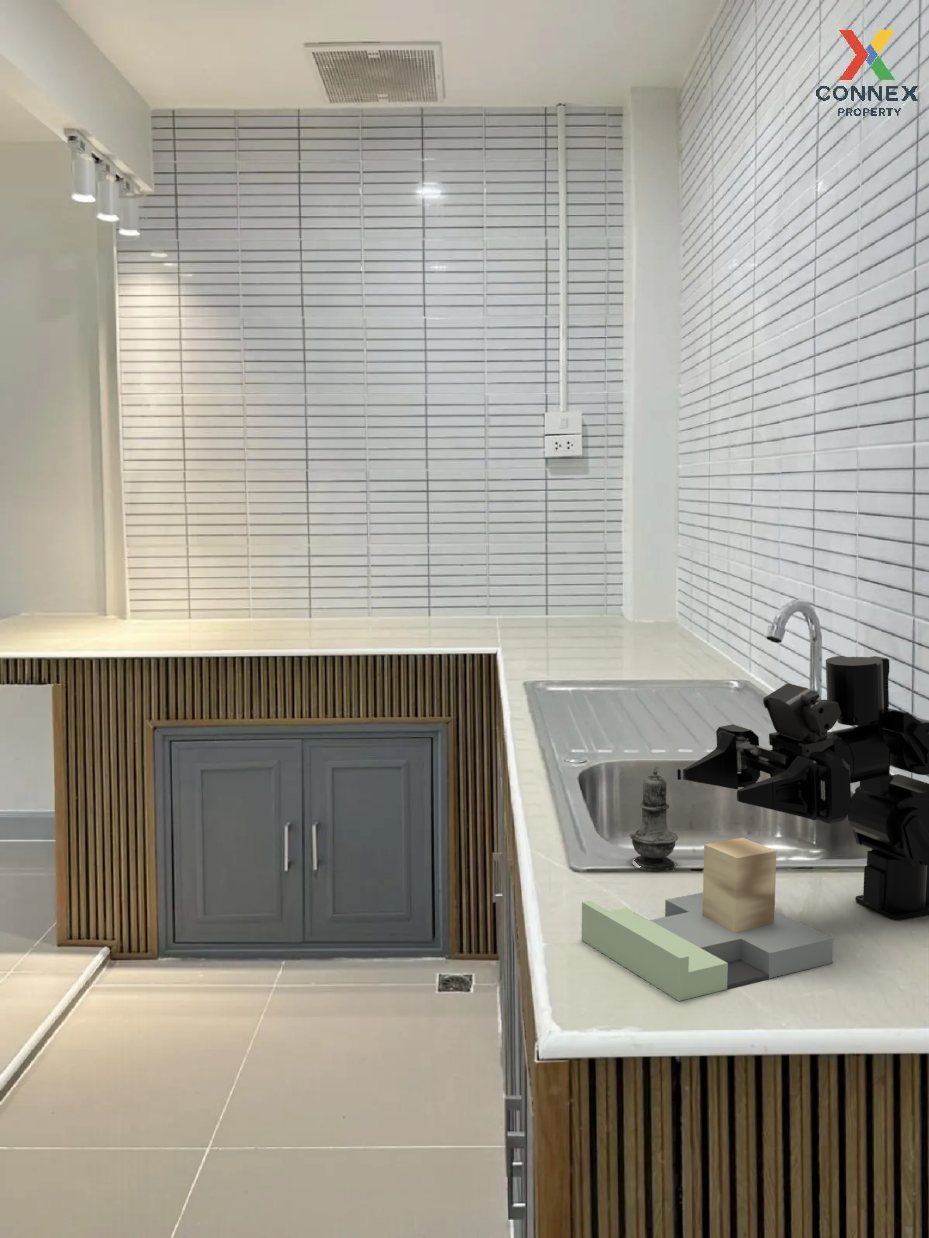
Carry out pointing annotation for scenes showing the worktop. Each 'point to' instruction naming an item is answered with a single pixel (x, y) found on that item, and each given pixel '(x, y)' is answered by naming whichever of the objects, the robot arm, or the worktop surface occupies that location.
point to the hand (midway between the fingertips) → (710, 785)
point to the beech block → (739, 884)
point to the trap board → (701, 947)
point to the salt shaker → (654, 828)
